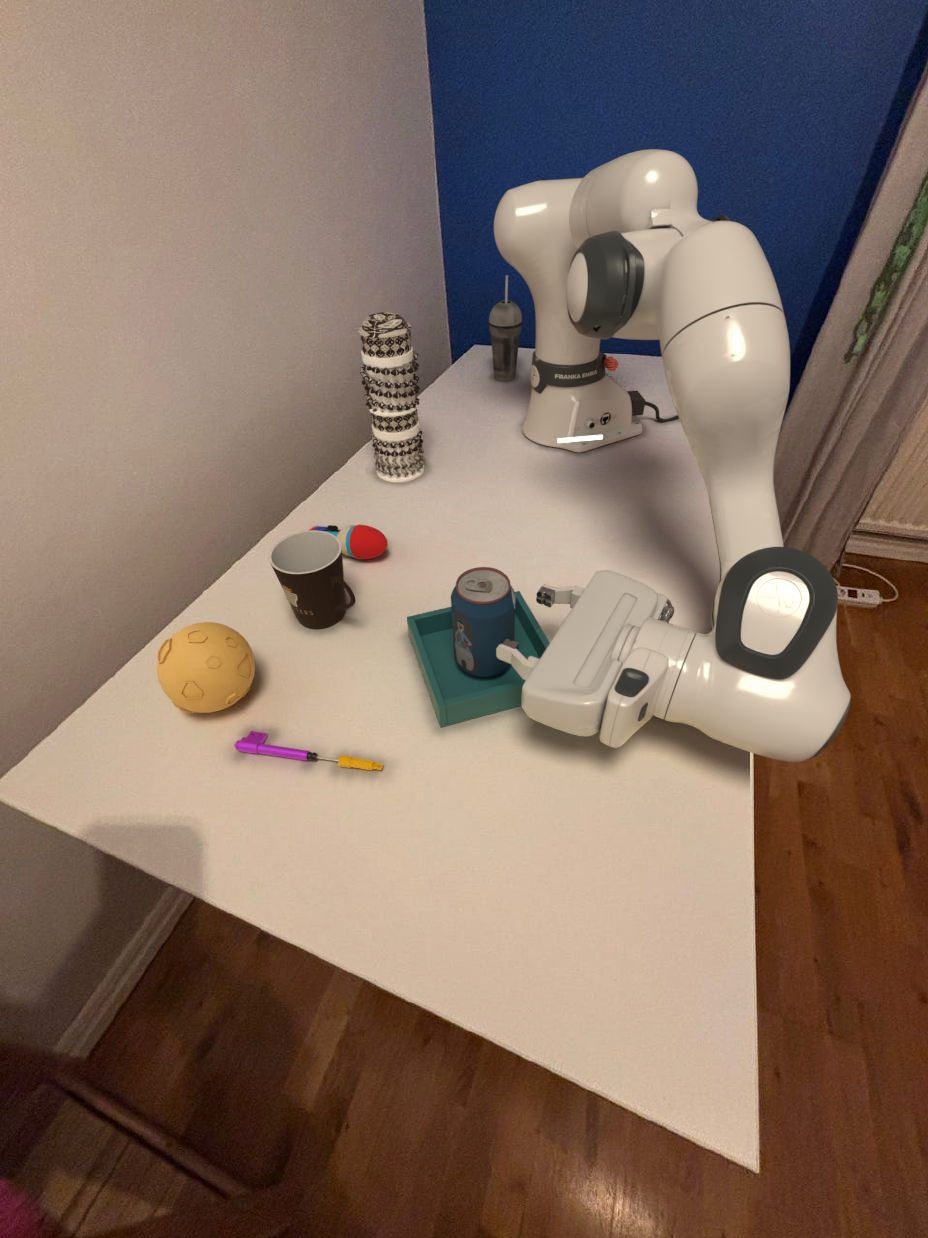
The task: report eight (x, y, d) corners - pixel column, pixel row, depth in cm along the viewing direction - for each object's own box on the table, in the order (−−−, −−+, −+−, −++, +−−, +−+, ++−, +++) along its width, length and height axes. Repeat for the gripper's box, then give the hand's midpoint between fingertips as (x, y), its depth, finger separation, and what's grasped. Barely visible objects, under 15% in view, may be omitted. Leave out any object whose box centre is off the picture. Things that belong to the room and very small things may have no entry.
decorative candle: (436, 473, 103) (426, 318, 86) (389, 489, 100) (368, 331, 83) (412, 452, 109) (397, 303, 92) (366, 466, 106) (342, 315, 89)
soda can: (517, 644, 72) (520, 566, 64) (508, 687, 67) (511, 609, 59) (461, 637, 73) (457, 560, 65) (448, 679, 69) (443, 601, 60)
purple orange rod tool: (233, 752, 62) (380, 775, 60) (231, 744, 62) (380, 766, 60) (246, 735, 65) (388, 757, 62) (244, 727, 64) (387, 748, 62)
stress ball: (166, 688, 69) (130, 627, 63) (247, 652, 73) (222, 590, 67) (191, 747, 63) (155, 686, 57) (278, 703, 67) (254, 641, 60)
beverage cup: (486, 383, 131) (485, 281, 117) (490, 370, 136) (490, 271, 122) (519, 384, 130) (522, 282, 116) (522, 371, 135) (526, 272, 121)
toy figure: (292, 563, 88) (377, 572, 82) (281, 533, 86) (368, 540, 79) (321, 538, 94) (403, 545, 88) (312, 510, 91) (395, 515, 85)
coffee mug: (282, 601, 80) (263, 541, 73) (345, 584, 82) (331, 523, 75) (300, 659, 72) (281, 598, 65) (369, 638, 74) (357, 576, 68)
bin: (518, 610, 77) (519, 590, 75) (565, 694, 67) (567, 673, 65) (409, 636, 74) (406, 616, 72) (440, 727, 64) (438, 707, 62)
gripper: (686, 578, 62) (561, 542, 67) (619, 719, 49) (472, 661, 54) (673, 622, 66) (557, 585, 71) (609, 762, 53) (474, 704, 58)
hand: (520, 618), depth 63 cm, fingers open, 8 cm apart
